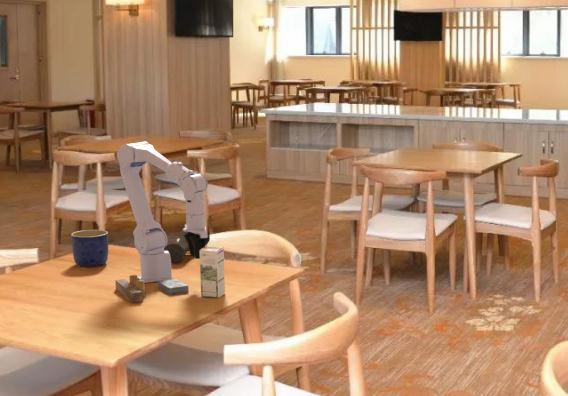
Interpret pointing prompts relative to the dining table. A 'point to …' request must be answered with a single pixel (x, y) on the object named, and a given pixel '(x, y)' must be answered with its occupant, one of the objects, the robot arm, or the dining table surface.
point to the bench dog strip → (131, 289)
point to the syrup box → (212, 272)
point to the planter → (90, 247)
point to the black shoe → (179, 248)
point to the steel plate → (173, 286)
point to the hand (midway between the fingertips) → (196, 257)
